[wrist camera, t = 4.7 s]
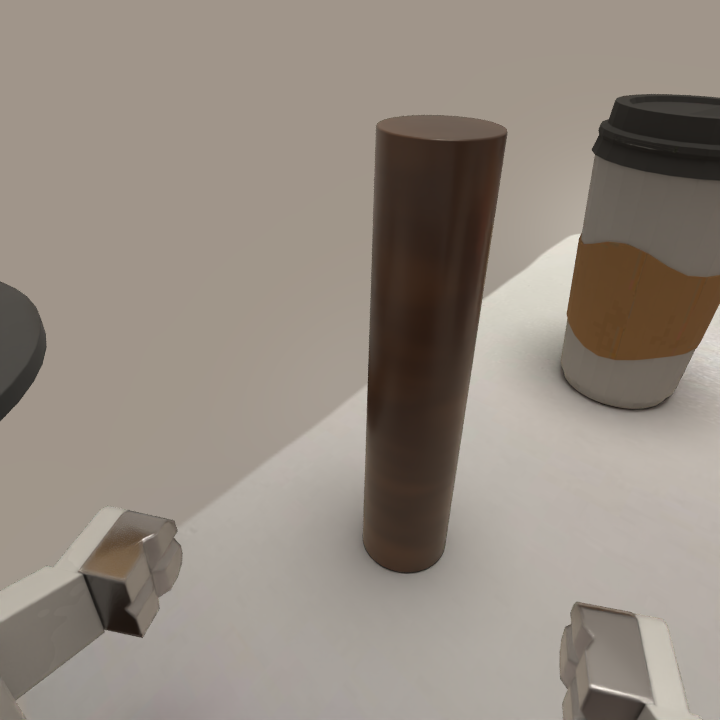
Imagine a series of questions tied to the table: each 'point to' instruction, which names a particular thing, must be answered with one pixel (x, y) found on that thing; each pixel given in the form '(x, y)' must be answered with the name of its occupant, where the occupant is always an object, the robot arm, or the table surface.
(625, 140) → the coffee cup
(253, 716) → the table surface
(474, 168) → the brown cylinder
